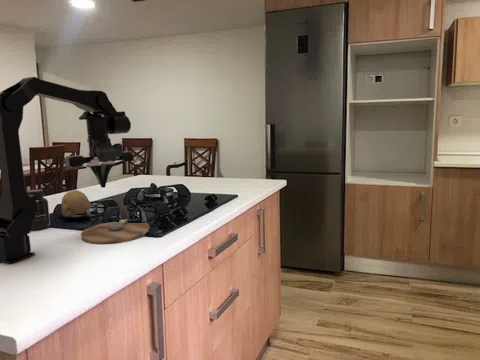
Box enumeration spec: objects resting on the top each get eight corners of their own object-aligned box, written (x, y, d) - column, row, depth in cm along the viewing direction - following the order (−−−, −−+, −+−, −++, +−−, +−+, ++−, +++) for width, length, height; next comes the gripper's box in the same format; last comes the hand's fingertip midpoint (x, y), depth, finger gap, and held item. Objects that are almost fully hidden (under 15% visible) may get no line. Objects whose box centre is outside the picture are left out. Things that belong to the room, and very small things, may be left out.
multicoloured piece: (120, 230, 108) (118, 213, 107) (106, 230, 108) (105, 214, 108) (132, 220, 118) (130, 205, 118) (119, 221, 118) (118, 206, 118)
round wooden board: (121, 246, 98) (120, 241, 98) (66, 240, 105) (65, 235, 105) (162, 226, 116) (162, 222, 115) (112, 222, 123) (112, 218, 123)
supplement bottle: (40, 231, 116) (35, 192, 114) (21, 230, 117) (16, 192, 115) (55, 225, 122) (51, 188, 120) (37, 224, 124) (32, 188, 122)
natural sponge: (95, 215, 133) (93, 187, 132) (85, 222, 125) (82, 192, 123) (70, 216, 134) (67, 188, 132) (58, 223, 125) (54, 193, 123)
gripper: (72, 137, 99) (78, 195, 102) (139, 133, 110) (143, 186, 113) (61, 136, 108) (67, 190, 110) (125, 133, 119) (129, 182, 122)
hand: (103, 187), depth 114 cm, fingers closed
